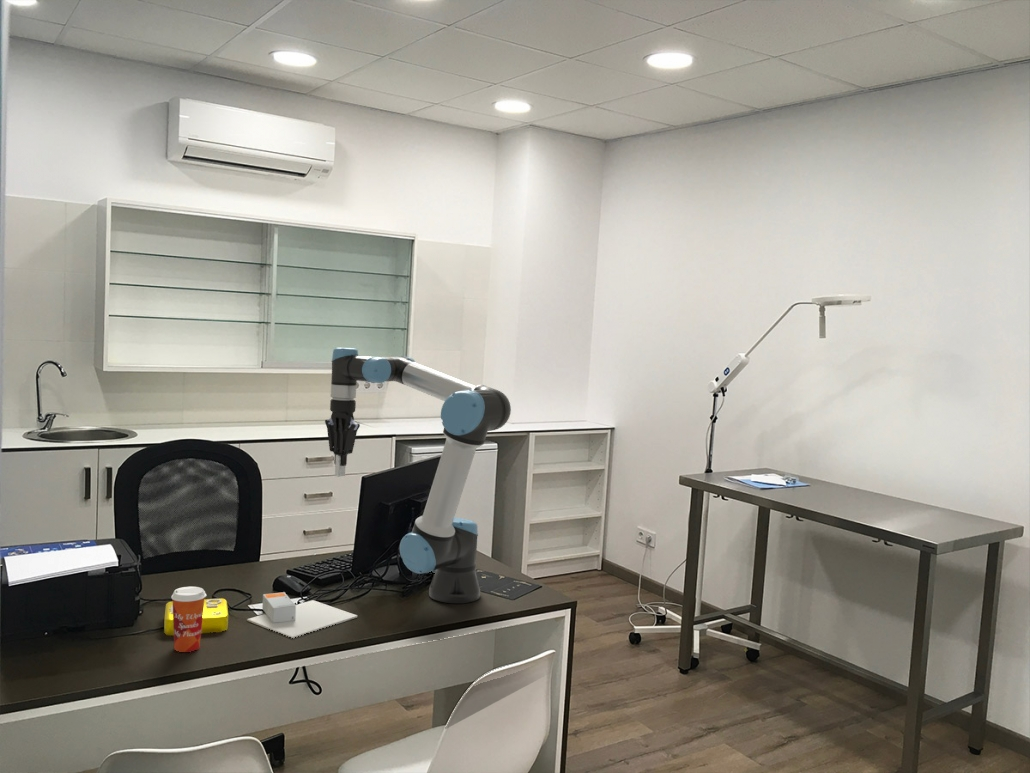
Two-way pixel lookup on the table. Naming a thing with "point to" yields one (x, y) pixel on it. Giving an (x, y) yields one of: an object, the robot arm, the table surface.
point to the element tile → (212, 616)
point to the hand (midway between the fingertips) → (339, 475)
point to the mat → (305, 619)
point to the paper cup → (187, 617)
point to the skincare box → (279, 607)
